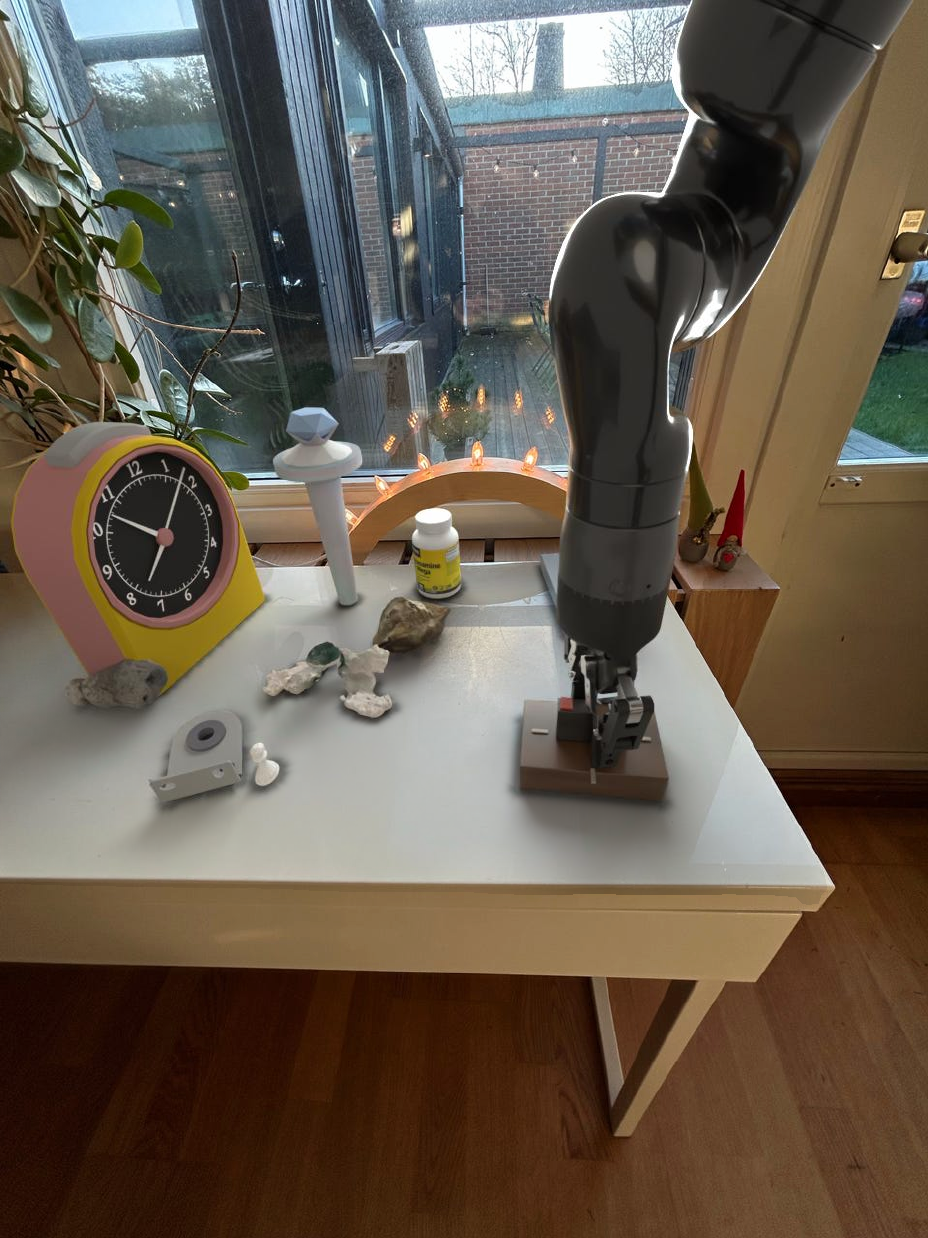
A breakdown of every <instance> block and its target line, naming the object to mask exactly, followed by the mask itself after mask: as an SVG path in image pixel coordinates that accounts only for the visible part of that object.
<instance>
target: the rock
mask: <svg viewBox="0 0 928 1238" xmlns="http://www.w3.org/2000/svg"><path fill="white" fill-rule="evenodd" d="M372 646H373V645H372ZM372 646H371V647H370V648H368V649H365V650H362V651H359V652H358V653H355V652H353V651H351V650H350V649H349V648H340V647H339V646H338V645H337V646H336V645H334V643H332V642H330V641H324V642H322V643H319V644H316V645H314V647H312V648H311V649H310V651H308V654H307V655H306V658H305V660H304V661H298V662H296V663H295V666H294V667H291V668H285V669H281V670H278V671H276V670H274V669H271V670H270V673H268V674H267V676H266V678H265V684H266V686H265V685H264V686H263V687H262V691H263V692H264V693H265V694H267V695H268V696H271V697H275V696H277V695H278V694H280V693H281V692H282V691H283V690H286V691H287V692H288V691H289V692H290V693H291V694H294V695H295V694H296V695H299V694H301V692H304V691H305V689H310V688H311V687H312V686H313V685H314V684H316V683H318V682H319V681H320V679H321V678H322V674H323V673H322V672H323V671H326V670H327V669H328V668H329V667H331V666H332V667H333V666H334V665H335V664H337V675H338V676H339V677H340V678H341V679H343V680H344V682H345V683H344V689H345V691H346V692H347V694H348V695H347V696H346V697H345V695H344V694H343V695H340V696H339V700H340V701H342V702H343V705H344V706H345V708H347V709H350V710H352V711H355V712H357V714H358V715H360V716H364V717H369V718H372V719H373V718H374V719H375V718H378V717H380V716H382V715H383V714H384V713H385V711H388V710H390V709H391V708H392V706H393V702H392V700H391V699H392V698H391V697H390V695H389V694H388V693H385V695H383V696H382V695H381V696H378V695H376V693H375V692H374V688H375V686H376V683H377V679H376V676H375V674H374V673H379V674H383V673H384V672H385V668H386V666H387V664H388V661H389V656H390V652H389V651H388V650H384V649H381V648H379V647H378V646H377V644H376V645H374V646H373V647H372Z"/></svg>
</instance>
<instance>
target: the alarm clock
mask: <svg viewBox="0 0 928 1238" xmlns="http://www.w3.org/2000/svg"><path fill="white" fill-rule="evenodd" d="M13 499H14V500H13V507H12V513H11V519H10V525H11V533H12V538H13V539H12V540H13V546H14V547H13V548H14V553H15V555H16V557H17V558H18V561H19V563H20V565H21V567H22V570H23V572H24V574H25V576H26V579H27V580H28V581H29V584H30V585H31V586H32V588H33V590H34V591H35V593H36V595H37V596H38V598H39V599H40V600H41V602H42V604H43V605H44V606H45V609H46V610H47V612H48V614H49V616H51V618H52V620H53V622H54V623H55V624H56V626H57V628H58V629H59V631H60V633H61V634H62V636H63V637H64V639H65V640H66V642H67V644H68V646H69V647H70V649H71V650H72V652H73V653H74V655H75V657H76V658H77V660H78V661H79V663H80V665H81V666H82V667H83V669H84V671H85V672H86V674H87V677H89V676H90V675H92V674H94V673H96V672H98V671H100V670H102V669H104V668H106V667H108V666H111V665H114V664H117V663H119V662H121V661H122V660H124V659H132V660H139V661H140V660H144V659H148V660H151V661H154V662H155V663H157V664H159V665H161V666H162V667H163V668H164V669H165V670H166V672H167V676H168V681H167V684H166V685H165V687H164V688H163V689H162V691H161V693H160V695H159V697H160V696H161V695H163V694H164V693H165V692H166V691H167V690H169V688H170V687H172V686H173V685H174V684H175V683H176V682H177V681H178V680H179V679H180V678H182V677H183V676H184V675H185V674H186V673H187V672H188V671H190V670H191V669H192V668H193V667H194V666H195V665H196V664H197V663H198V662H199V661H200V660H201V659H203V657H205V656H206V655H207V654H208V653H210V651H212V649H214V648H215V647H216V646H217V645H218V644H219V643H220V642H222V641H223V640H224V639H225V638H226V637H227V636H228V635H229V634H230V633H231V632H233V631H234V629H236V628H237V627H238V626H239V625H240V624H241V623H243V621H245V619H247V618H248V617H249V616H251V615H252V614H253V612H255V611H256V610H257V609H258V608H259V607H260V606H261V605H263V603H264V602H266V596H265V594H264V593H265V592H264V590H263V588H262V585H261V582H260V578H259V575H258V572H257V569H256V566H255V563H254V560H253V557H252V553H251V551H250V547H249V544H248V541H247V538H246V535H245V532H244V529H243V526H242V523H241V520H240V515H239V514H238V510H237V508H236V503H235V502H234V499H233V497H232V494H231V492H230V490H229V488H228V485H227V483H226V481H225V480H224V478H223V477H222V476H221V474H220V473H219V472H218V470H217V469H216V467H215V466H214V464H213V463H212V462H211V461H209V460H208V459H207V458H206V457H205V456H204V455H203V454H202V453H200V452H199V451H198V450H197V449H196V448H195V447H192V446H190V445H188V444H186V443H184V442H183V441H179V440H178V439H175V438H172V437H167V436H165V437H164V436H157V435H152V432H151V430H150V428H149V427H148V426H147V425H143V424H138V423H132V422H116V421H115V422H113V421H94V422H93V421H92V422H89V423H83V424H82V423H81V424H80V425H78V426H76V427H73V428H72V429H69V430H67V431H66V432H65V433H64V434H62V435H60V437H58V438H57V439H56V440H55V441H54V442H53V443H52V444H51V445H50V446H49V447H48V448H46V449H45V450H44V451H43V452H42V453H41V454H40V455H39V456H38V457H37V458H36V459H35V460H34V461H33V462H32V463H31V464H30V465H29V466H28V467H27V469H26V471H25V473H24V475H23V477H22V479H21V481H20V483H19V485H18V488H17V490H16V492H15V494H14V498H13Z"/></svg>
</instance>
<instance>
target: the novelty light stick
mask: <svg viewBox="0 0 928 1238" xmlns="http://www.w3.org/2000/svg"><path fill="white" fill-rule="evenodd" d="M339 424H340V423H339V422H338V421H337V420H336V419H335V418H334V417H333V416H332V415H331V414H330V413H329V412H328V411H327V409H325V408H324V407H307V406H306V407H303V408H300V409H297V410H293V411H291V412H290V415H289V418H288V422H287V426H286V429H285V432H286V433H287V434H288V435H289V436H291V437H292V438H293V439H294V440H296V442H297V444H296V445H294V446H293V447H289V448H287V449H285V450H282V451H281V452H279V453H278V454H276V455H275V456H274V457H273V459H272V464H273V468H274V471H275V475H276V476H277V477H278V478H279V479H281V480H283V481H287V482H294V483H304V485H305V488H306V492H307V494H308V499H309V502H310V505H311V508H312V509H311V510H312V512H313V515H314V519H315V522H316V526H317V530H318V532H319V533H318V534H319V537H320V540H321V543H322V546H323V550H324V554H325V557H326V561H327V564H328V567H329V571H330V574H331V577H332V581H333V585H334V588H335V591H336V594H337V597H338V601H339V604H341V605H342V606H351V605H354V604H355V603H357V602H358V600H359V597H358V589H357V582H356V576H355V569H354V563H353V556H352V548H351V542H350V541H351V540H350V535H349V534H350V533H349V527H348V520H347V513H346V507H345V500H344V499H345V498H344V493H343V486H342V479H341V478H342V477H343V476H347V475H348V474H351V473H353V472H355V471H357V470H358V469H359V468H360V467H361V466H362V465H363V456H362V450H361V447H360V446H358V445H357V444H355V443H352V442H349V441H348V442H347V441H338V440H337V441H334V440H331V437H332V435H333V434H334V432H335V431H336V429H337V428H338V426H339Z"/></svg>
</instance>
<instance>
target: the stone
mask: <svg viewBox="0 0 928 1238" xmlns="http://www.w3.org/2000/svg"><path fill="white" fill-rule="evenodd" d="M167 681H168V676H167V672H166V670H165V669H164V668H163V667H162V666H161V665H159V664H157V663H155V662H154V661H151V660H148V659H144V660H140V661H139V660H132V659H124V660H122V661H121V662H119V663H117V664H114V665H111V666H108V667H106V668H104V669H102V670H100V671H98V672H96V673H94V674H92V675H90V676H87V677H81V678H73V679H71V680H70V681H68V683H66V685H65V688H64V694H65V698H67V700H68V701H69V703H71V704H72V705H74V706H79V707H80V706H82V707H83V706H87V705H88V704H92V705H94V706H97V707H100V708H107V709H109V708H115V707H122V706H125V707H131V708H144V707H147V706H149V705H151V704H153V703H154V702H155V701H157V699H158V698H159V697H160V696H161V695H160V693H161V691H162V689H163V688H164V687H165V685H166V684H167ZM159 695H160V696H159Z"/></svg>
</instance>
